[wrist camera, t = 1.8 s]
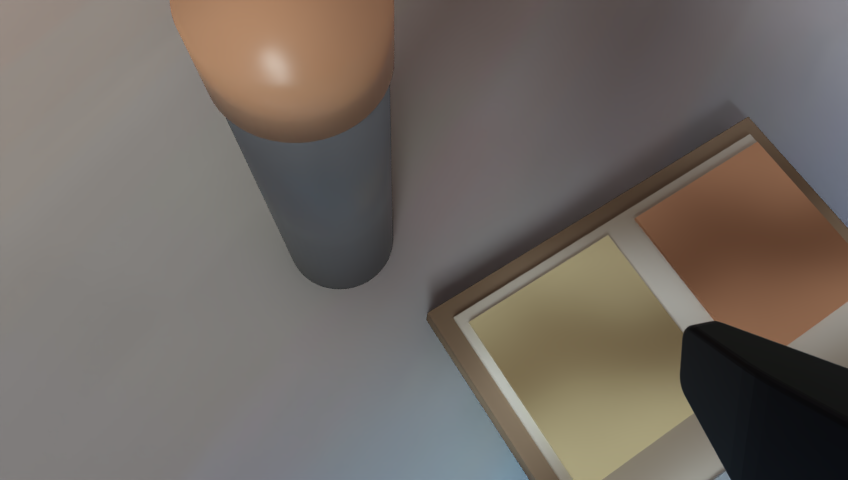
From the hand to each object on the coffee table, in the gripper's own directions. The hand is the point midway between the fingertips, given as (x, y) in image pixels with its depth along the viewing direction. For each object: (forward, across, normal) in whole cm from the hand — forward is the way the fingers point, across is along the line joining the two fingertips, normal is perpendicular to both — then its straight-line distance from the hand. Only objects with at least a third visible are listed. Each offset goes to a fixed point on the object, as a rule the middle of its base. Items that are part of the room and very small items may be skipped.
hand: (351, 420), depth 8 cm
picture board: (+8, -12, +10) cm, 18 cm away
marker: (+14, 0, +4) cm, 15 cm away
